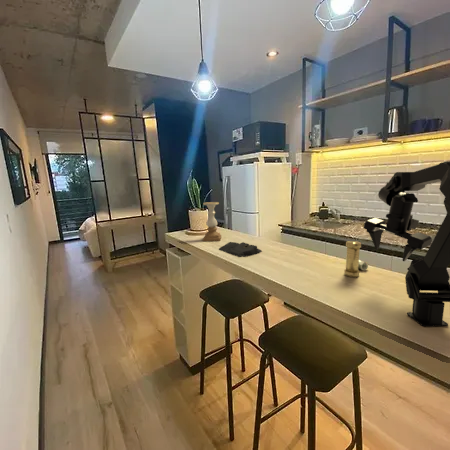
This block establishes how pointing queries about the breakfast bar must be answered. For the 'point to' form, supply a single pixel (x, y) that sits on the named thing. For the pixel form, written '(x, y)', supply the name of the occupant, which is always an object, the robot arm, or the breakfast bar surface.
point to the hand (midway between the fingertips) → (390, 254)
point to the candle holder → (211, 223)
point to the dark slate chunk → (240, 249)
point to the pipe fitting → (363, 265)
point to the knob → (352, 258)
